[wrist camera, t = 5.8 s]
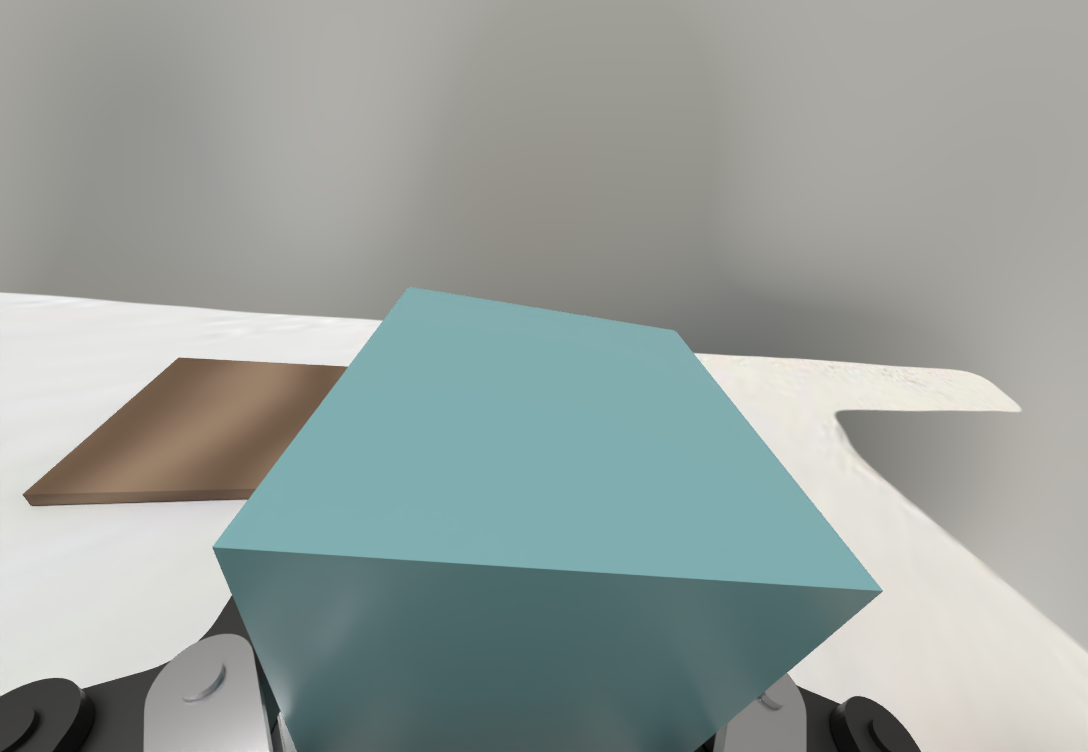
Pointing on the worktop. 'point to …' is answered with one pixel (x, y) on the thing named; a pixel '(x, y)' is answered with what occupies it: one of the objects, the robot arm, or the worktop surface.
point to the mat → (192, 435)
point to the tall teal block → (529, 544)
